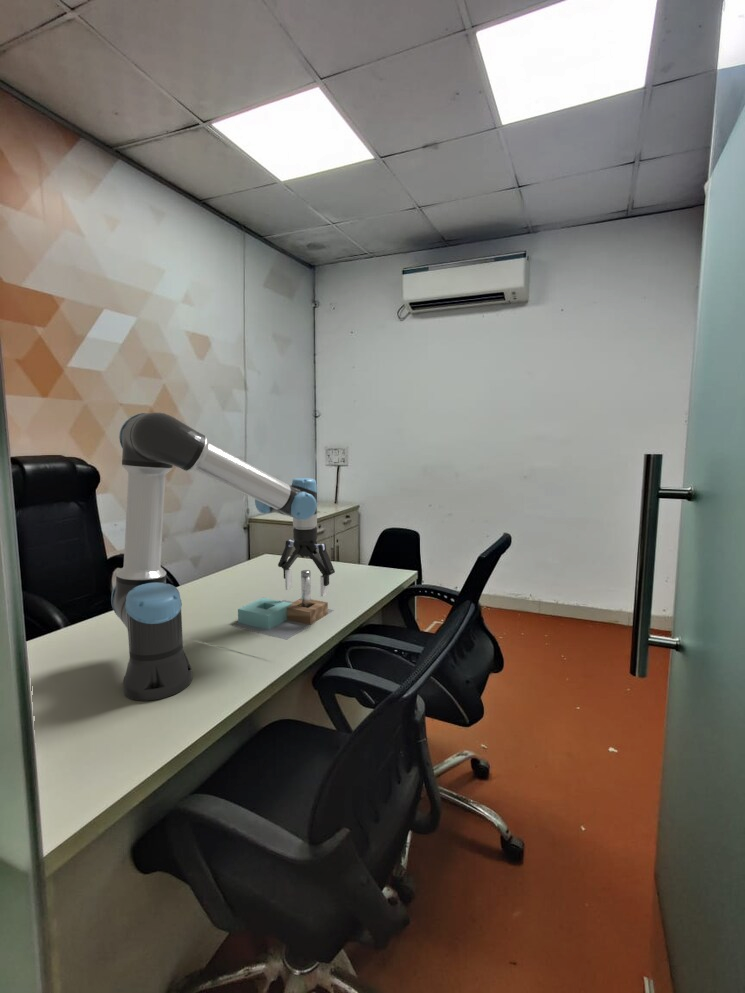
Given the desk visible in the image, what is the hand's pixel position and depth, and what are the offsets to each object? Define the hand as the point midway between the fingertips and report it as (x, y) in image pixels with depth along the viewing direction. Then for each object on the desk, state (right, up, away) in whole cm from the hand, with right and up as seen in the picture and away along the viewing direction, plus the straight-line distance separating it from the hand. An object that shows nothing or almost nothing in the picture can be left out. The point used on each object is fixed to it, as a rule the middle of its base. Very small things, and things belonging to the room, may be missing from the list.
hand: (306, 592), depth 155 cm
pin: (0, -8, +1) cm, 8 cm away
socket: (-13, -8, -1) cm, 15 cm away
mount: (0, -8, +1) cm, 8 cm away
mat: (-7, -9, 0) cm, 11 cm away
